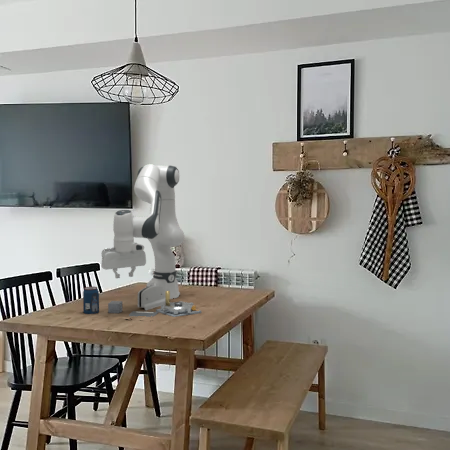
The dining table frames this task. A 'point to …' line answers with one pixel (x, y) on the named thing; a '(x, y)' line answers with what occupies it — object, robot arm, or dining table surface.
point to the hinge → (151, 297)
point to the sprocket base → (179, 313)
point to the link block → (115, 307)
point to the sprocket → (176, 306)
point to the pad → (143, 313)
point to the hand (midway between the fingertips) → (124, 277)
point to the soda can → (90, 300)
